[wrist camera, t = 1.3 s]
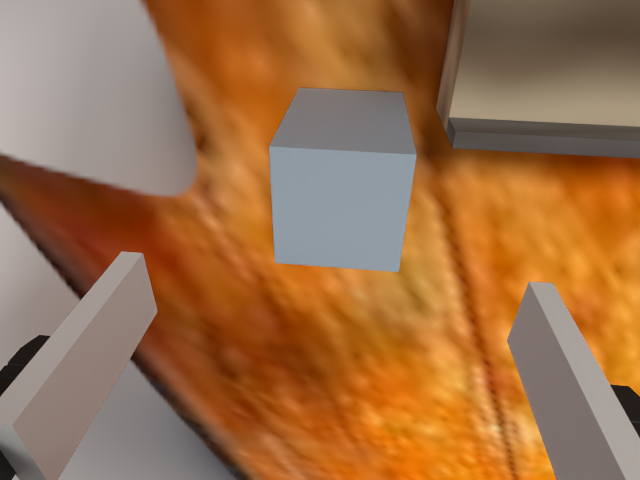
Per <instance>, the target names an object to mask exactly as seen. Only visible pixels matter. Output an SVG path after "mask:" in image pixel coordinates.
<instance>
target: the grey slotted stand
mask: <svg viewBox="0 0 640 480" xmlns="http://www.w3.org/2000/svg"><path fill="white" fill-rule="evenodd" d="M436 109H437V112H438V114H439V117H440V119H441V122H442V124H443V127H444V129H445V132H446V134H447V137H448V139H449V142H450V144H451V147H452V148H456V149H475V150H493V151H512V152H530V153H549V154H567V155H586V156H604V157H622V158H640V0H455V1H454V6H453V12H452V18H451V24H450V30H449V36H448V41H447V47H446V53H445V59H444V65H443V71H442V77H441V82H440V88H439V94H438V100H437V106H436Z"/></svg>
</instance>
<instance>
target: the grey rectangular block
mask: <svg viewBox="0 0 640 480" xmlns="http://www.w3.org/2000/svg"><path fill="white" fill-rule="evenodd" d="M269 155H270V175H271V195H272V215H273V234H274V254H275V263H284V264H297V265H311V266H324V267H338V268H351V269H365V270H378V271H392V272H399V266H400V260H401V253H402V247H403V240H404V234H405V227H406V221H407V214H408V208H409V202H410V195H411V189H412V182H413V176H414V169H415V163H416V156H417V154H416V149H415V145H414V140H413V136H412V131H411V127H410V122H409V118H408V113H407V109H406V104H405V100H404V95H403V92H384V91H362V90H340V89H318V88H299V89H298V91H297V93H296V95H295V97H294V99H293V100H292V102H291V104H290V106H289V108H288V110H287V112H286V114H285V116H284V118H283V120H282V122H281V124H280V126H279V128H278V130H277V132H276V134H275V136H274V138H273V140H272V142H271V144H270V146H269Z"/></svg>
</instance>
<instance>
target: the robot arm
mask: <svg viewBox="0 0 640 480" xmlns="http://www.w3.org/2000/svg"><path fill="white" fill-rule="evenodd" d="M157 312H158V311H157V307H156V303H155V299H154V295H153V291H152V287H151V283H150V280H149V276H148V272H147V268H146V264H145V260H144V256H143V253H134V252H121V253H120V254H119V255H118V257H117V258H116V259H115V260H114V261H113V263H112V264H111V265H110V266H109V267H108V269H107V270H106V271H105V272H104V273H103V275H102V276H101V277H100V278H99V279H98V281H97V282H96V283H95V284H94V285H93V286H92V288H91V289H90V290H89V291H88V292H87V294H86V295H85V296H84V297H83V298H82V300H81V301H80V302H79V303H78V305H77V306H76V307H75V308H74V309H73V311H72V312H71V313H70V314H69V315H68V316H67V318H66V319H65V320H64V321H63V322H62V324H61V325H60V326H59V327H58V328H57V330H56V331H55V332H54V333H53V334H52V336H43V335H39V336H37V337H36V338H34V339H33V340H31V341H30V342H29V343H27V344H26V345H24V346H23V347H21V348H20V349H19V351H18V352H17V353H16V354H15V355H14V356H13V357H12V358H11V360H10V361H9V362H8V365H7V366H4V367H3V369H2V370H1V371H0V480H12V478H13V477H14V475H15V474H16V475H17V477H18V478H19V480H58V478H59V477H60V475H61V473H62V472H63V470H64V468H65V467H66V465H67V463H68V462H69V460H70V458H71V457H72V455H73V453H74V452H75V450H76V448H77V447H78V445H79V443H80V441H81V440H82V438H83V436H84V434H85V433H86V431H87V430H88V428H89V426H90V425H91V423H92V421H93V420H94V418H95V416H96V414H97V413H98V411H99V410H100V408H101V406H102V404H103V403H104V401H105V399H106V398H107V396H108V394H109V393H110V391H111V389H112V388H113V386H114V384H115V382H116V381H117V379H118V378H119V376H120V374H121V372H122V371H123V369H124V367H125V366H126V364H127V362H128V361H129V359H130V357H131V356H132V354H133V352H134V351H135V349H136V347H137V346H138V344H139V342H140V341H141V339H142V337H143V335H144V334H145V332H146V330H147V329H148V327H149V325H150V324H151V322H152V320H153V319H154V317H155V315H156V314H157ZM507 342H508V344H509V347H510V350H511V353H512V356H513V358H514V361H515V364H516V367H517V370H518V372H519V375H520V378H521V381H522V384H523V386H524V389H525V392H526V395H527V398H528V400H529V403H530V406H531V409H532V412H533V414H534V417H535V420H536V423H537V426H538V428H539V431H540V434H541V437H542V440H543V442H544V445H545V448H546V451H547V454H548V456H549V459H550V462H551V465H552V468H553V470H554V473H555V476H556V479H557V480H640V397H639V396H638V395H637V394H636V393H635V392H634V391H633V390H632V389H631V388H630V387H629V386H619V385H610V384H609V382H608V381H607V379H606V377H605V375H604V374H603V372H602V370H601V368H600V366H599V365H598V363H597V361H596V359H595V357H594V356H593V354H592V352H591V350H590V349H589V347H588V345H587V343H586V341H585V340H584V338H583V336H582V334H581V332H580V331H579V329H578V327H577V325H576V323H575V322H574V320H573V318H572V316H571V315H570V313H569V311H568V309H567V307H566V306H565V304H564V302H563V300H562V298H561V297H560V295H559V293H558V291H557V289H556V288H555V286H554V284H553V283H541V282H529V283H528V286H527V289H526V291H525V294H524V297H523V299H522V302H521V305H520V307H519V310H518V313H517V316H516V318H515V321H514V324H513V326H512V329H511V332H510V334H509V337H508V340H507Z"/></svg>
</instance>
